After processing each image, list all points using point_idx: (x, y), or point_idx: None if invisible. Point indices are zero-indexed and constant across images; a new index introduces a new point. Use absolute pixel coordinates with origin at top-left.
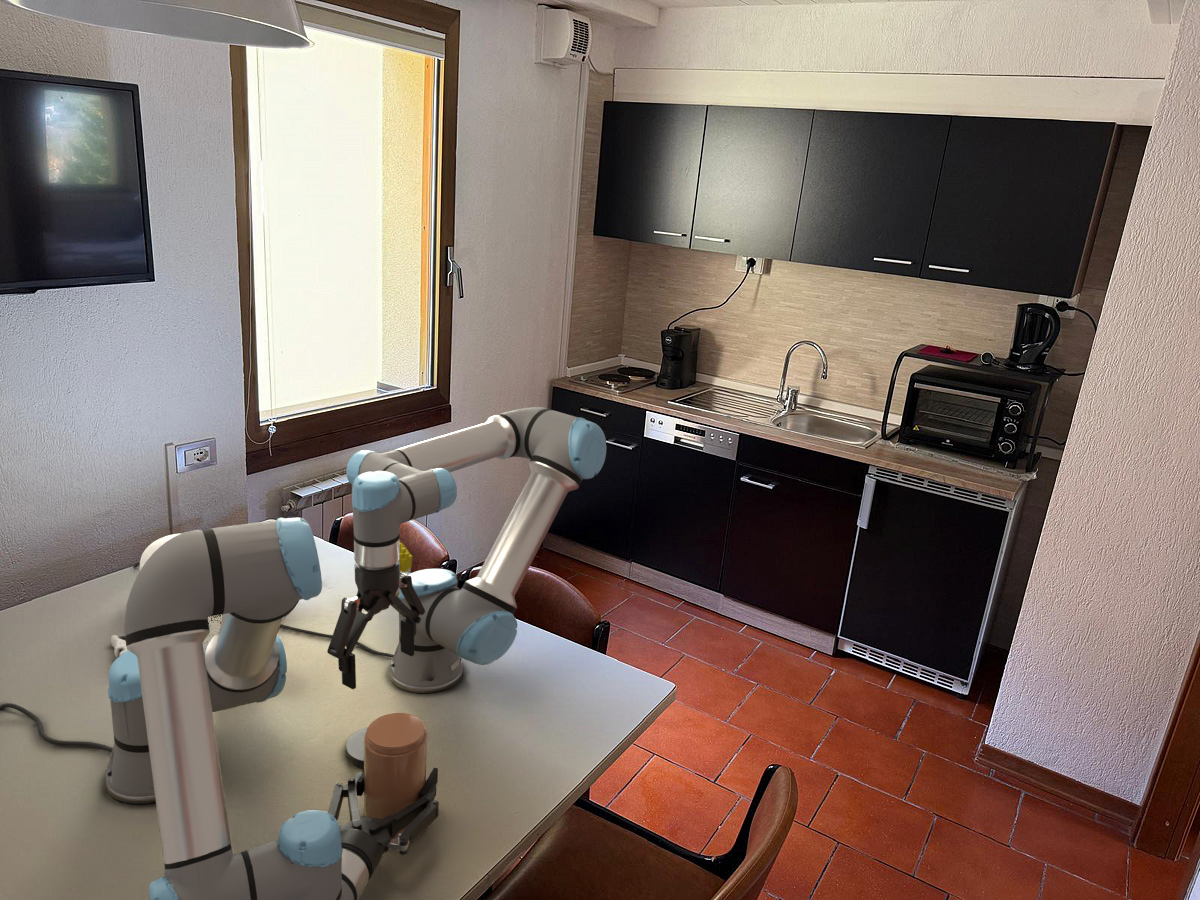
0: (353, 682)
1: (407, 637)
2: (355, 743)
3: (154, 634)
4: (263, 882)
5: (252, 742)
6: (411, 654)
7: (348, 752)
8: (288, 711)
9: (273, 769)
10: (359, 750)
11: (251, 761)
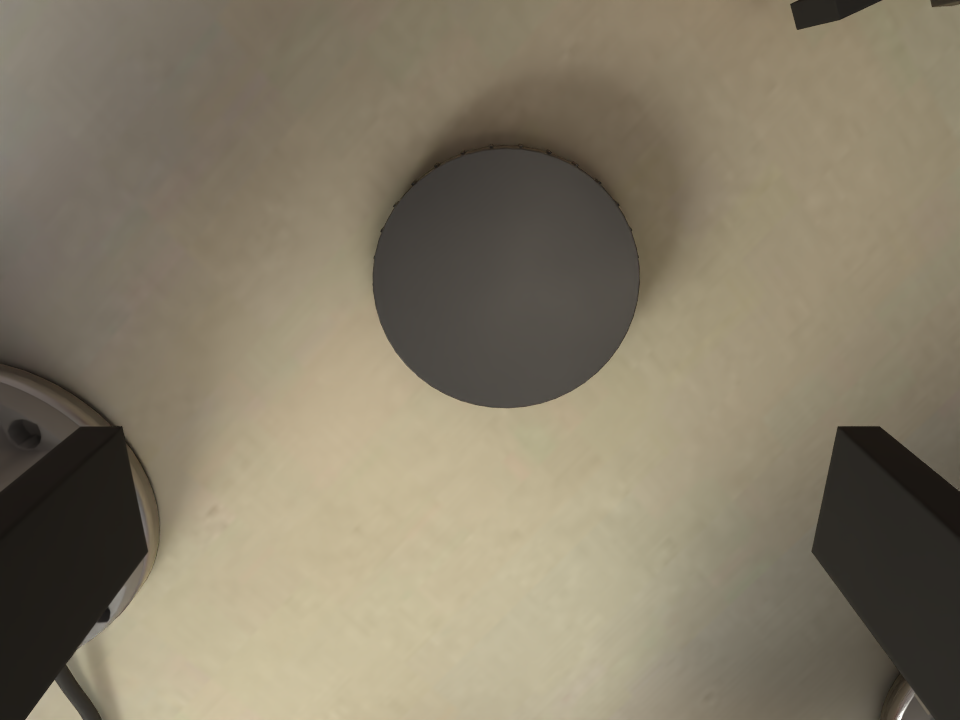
0: (910, 462)
1: (3, 608)
2: (564, 351)
3: None
4: None
5: (747, 634)
6: (107, 435)
7: (628, 327)
8: (549, 676)
9: (822, 479)
10: (589, 302)
11: None
